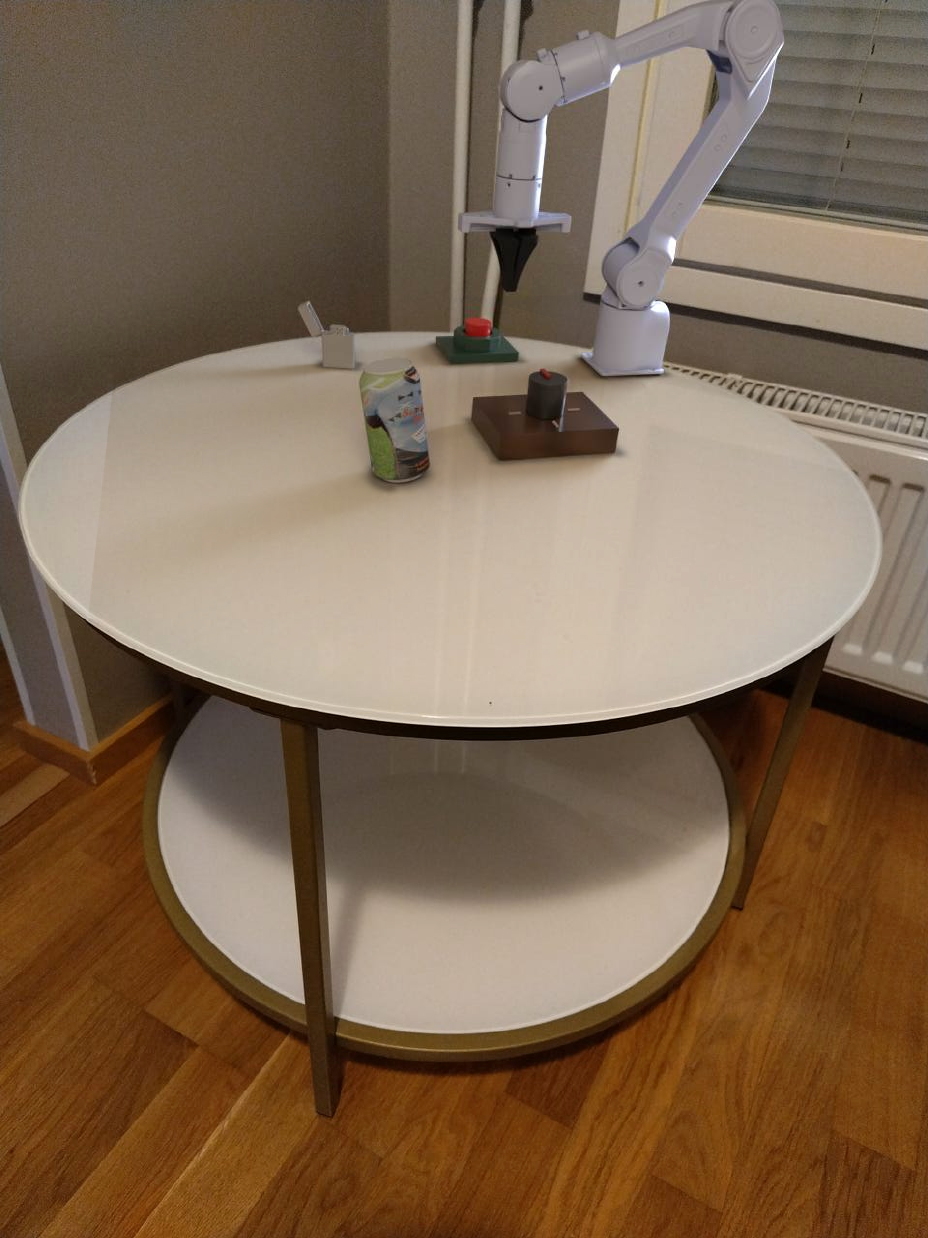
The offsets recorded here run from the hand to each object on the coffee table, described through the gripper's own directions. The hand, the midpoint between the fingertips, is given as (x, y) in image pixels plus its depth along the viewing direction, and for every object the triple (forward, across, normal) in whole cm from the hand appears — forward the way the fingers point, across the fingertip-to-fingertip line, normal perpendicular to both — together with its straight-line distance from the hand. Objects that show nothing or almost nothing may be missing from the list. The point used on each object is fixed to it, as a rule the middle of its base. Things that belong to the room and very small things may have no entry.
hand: (509, 289), depth 114 cm
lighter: (+10, -24, +2) cm, 26 cm away
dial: (+7, -3, -24) cm, 25 cm away
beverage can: (+10, -22, -31) cm, 39 cm away
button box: (+10, -2, +4) cm, 11 cm away
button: (+7, -3, +4) cm, 9 cm away
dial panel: (+10, -3, -24) cm, 26 cm away
